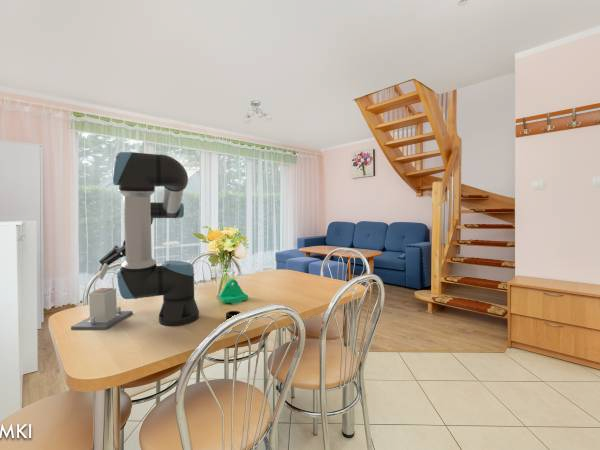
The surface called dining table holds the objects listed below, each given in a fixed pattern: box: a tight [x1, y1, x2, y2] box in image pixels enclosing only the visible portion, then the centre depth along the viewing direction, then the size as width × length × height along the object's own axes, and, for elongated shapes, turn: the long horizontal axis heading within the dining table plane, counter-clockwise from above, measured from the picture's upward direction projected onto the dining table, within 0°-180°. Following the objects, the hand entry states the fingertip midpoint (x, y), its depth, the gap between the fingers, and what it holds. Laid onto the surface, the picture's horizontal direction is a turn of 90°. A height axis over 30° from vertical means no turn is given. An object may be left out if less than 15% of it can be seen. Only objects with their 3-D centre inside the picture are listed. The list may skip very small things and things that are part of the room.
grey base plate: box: [70, 306, 133, 331], centre depth 119 cm, size 13×17×4 cm
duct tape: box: [225, 310, 242, 321], centre depth 121 cm, size 8×10×3 cm
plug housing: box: [88, 287, 118, 321], centre depth 119 cm, size 6×7×11 cm
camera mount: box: [219, 278, 249, 305], centre depth 145 cm, size 12×8×10 cm, turn 123°
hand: (115, 278), depth 127 cm, fingers open, 13 cm apart
